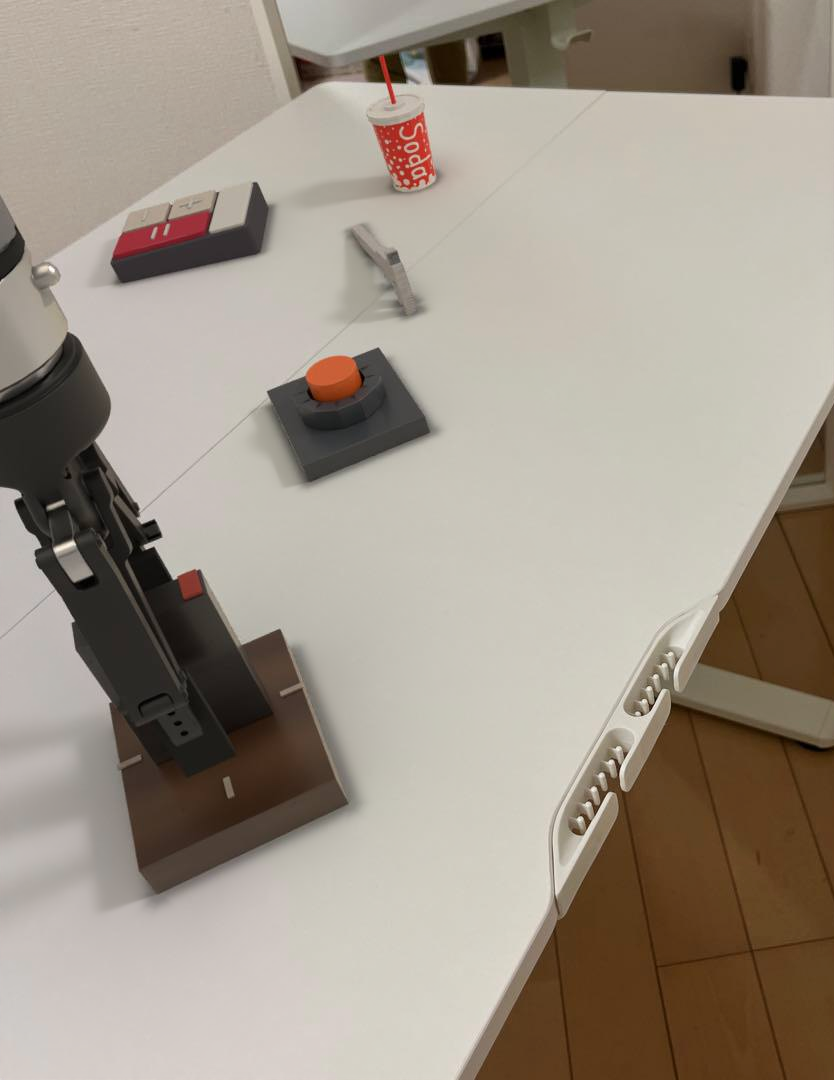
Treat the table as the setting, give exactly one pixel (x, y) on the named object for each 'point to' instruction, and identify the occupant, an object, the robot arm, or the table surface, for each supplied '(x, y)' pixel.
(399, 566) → the table surface
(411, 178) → the beverage cup
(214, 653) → the red-tabbed grey box
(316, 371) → the button
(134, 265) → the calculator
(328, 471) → the button block
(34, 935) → the table surface
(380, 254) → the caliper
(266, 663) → the panel
